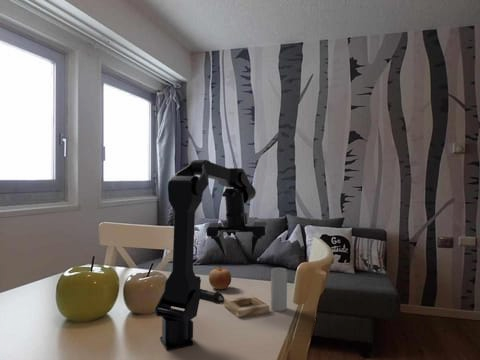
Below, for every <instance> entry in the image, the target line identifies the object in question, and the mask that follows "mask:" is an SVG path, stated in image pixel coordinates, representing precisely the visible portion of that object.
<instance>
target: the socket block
mask: <svg viewBox="0 0 480 360" xmlns="http://www.w3.org/2000/svg"><path fill="white" fill-rule="evenodd" d="M223 307H224V308H225V309H227V311H229V312H230V313H232V314H233V315H234V316H235V317H237V319H241V318H245V317H247V318H248V317H252V316H257V315H263V314H268V313H270V305H269V304H267V303H266V302H264V301H262V300H260V299H259V298H258V297H256V296H254V295H246V296H241V297H234V298H227V299H224V302H223Z"/></svg>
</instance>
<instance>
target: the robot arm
mask: <svg viewBox="0 0 480 360" xmlns="http://www.w3.org/2000/svg"><path fill="white" fill-rule="evenodd" d="M209 179H212V180H214V181H217V182H218V184H219V185H220V186H222V187H224V188H225V187H226V188H225V189H224V191H223V192H222V194H221V196H222V197H223V198H224V201H225V211H226V213H225V217H226V218H225V219H226V223H227V225H223V224H222V223H223V222H211V223H210V224H209V225H208V227H206V231H205V233H206V237H210V239H211V240H213V241H215V243H216V245H218V247H219V249H220V250H221V252H222V254H223V256H226V254H227V253H226V252H227V248H226V243H225V238H224V236H225V234H224V233H251V234H252V236H251V255H252V256H255V251H256V248H257V247H256V246H257V243H258V240H259V239H260V240H261V239H262V237H264V236H265V237H266V235H267V232H268V224H267V222H265V221H262V222H261V221H256V222H255V221H254V222H253V225H248V218H249V216H248V215H249V214H248V213H247V212H246V209H245V204H246V203H248V202H250V201H251V200H253V199H254V198H255V197H256V194H257V191H256V188H255V186H253V185H252V184H251V182H250V180H249V178H248V175H247V174H246V172H245V170H244V169H243V168H242V167H240V168H239V167H230V168H229V167H226V166H224V165H223V166H222V165H220V164H217V163H214V162H211V161H210V160H208V159H193V160H192V161H190V163H189V164H188V165H187V166H185V167H183V168H182V169H179V171H177V172H175V174H174V175H173V176H172V177H171V179H169V181H168V182H167V199H168V202H169V204H170V206H171V208H172V210H173V211H174V216H173V219H174V220H173V245H172V246H173V247H172V271H171V273H170V274H169V276H168V277H167V279H166V281H165V284H164V291H163V293H162V295H161V297H160V299H159V301H158V302H157V305H156V307H155V315H156V317H159V318H160V317H161V319H162V320H161V321H162V322H161V323H162V324H161V336H160V337H159V340H160V342H161V343H162V345H163V346H164V347H165V350H167V351H169V350H173V349H179V348H183V347H189V346H193V345H194V341H193V339H194V322H193V319H194V318H197V315H198V310H199V305H200V300H201V298H200V293H201V290H200V289H201V282H202V280H201V277H200V276H198V275H196V273H195V272H194V254H195V253H194V249H195V244H194V243H195V221H196V220H195V219H196V217H195V216H196V215H195V214H196V211H197V209H198V208H199V206H200V205H201V204H202V201H203V193H204V192H205V191H206V189H207V187H208V186H209V184H210V183H209ZM177 308H178V309H177ZM181 309H182V310H181Z"/></svg>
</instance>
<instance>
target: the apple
mask: <svg viewBox="0 0 480 360" xmlns="http://www.w3.org/2000/svg"><path fill="white" fill-rule="evenodd" d="M208 283H209V284H210V286H211V287H212V288H214V290H215V289H216V290H225V289H227V288H228V287H229V286H230V285H231V283H232V274H231V272H230V271H229V270H228V269H226V268H221V265H219V267H217V268H215V269H212V270H211V271H210V272H209V275H208Z"/></svg>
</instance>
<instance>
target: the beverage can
mask: <svg viewBox="0 0 480 360" xmlns="http://www.w3.org/2000/svg"><path fill="white" fill-rule="evenodd" d="M287 301H288V269H287V268H284V267H273V268H271V271H270V309H271V310H272V311H274V312H276V313H277V312H280V313H281V312H284V311H287V309H288V308H287V307H288V306H287V304H288V303H287Z"/></svg>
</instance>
